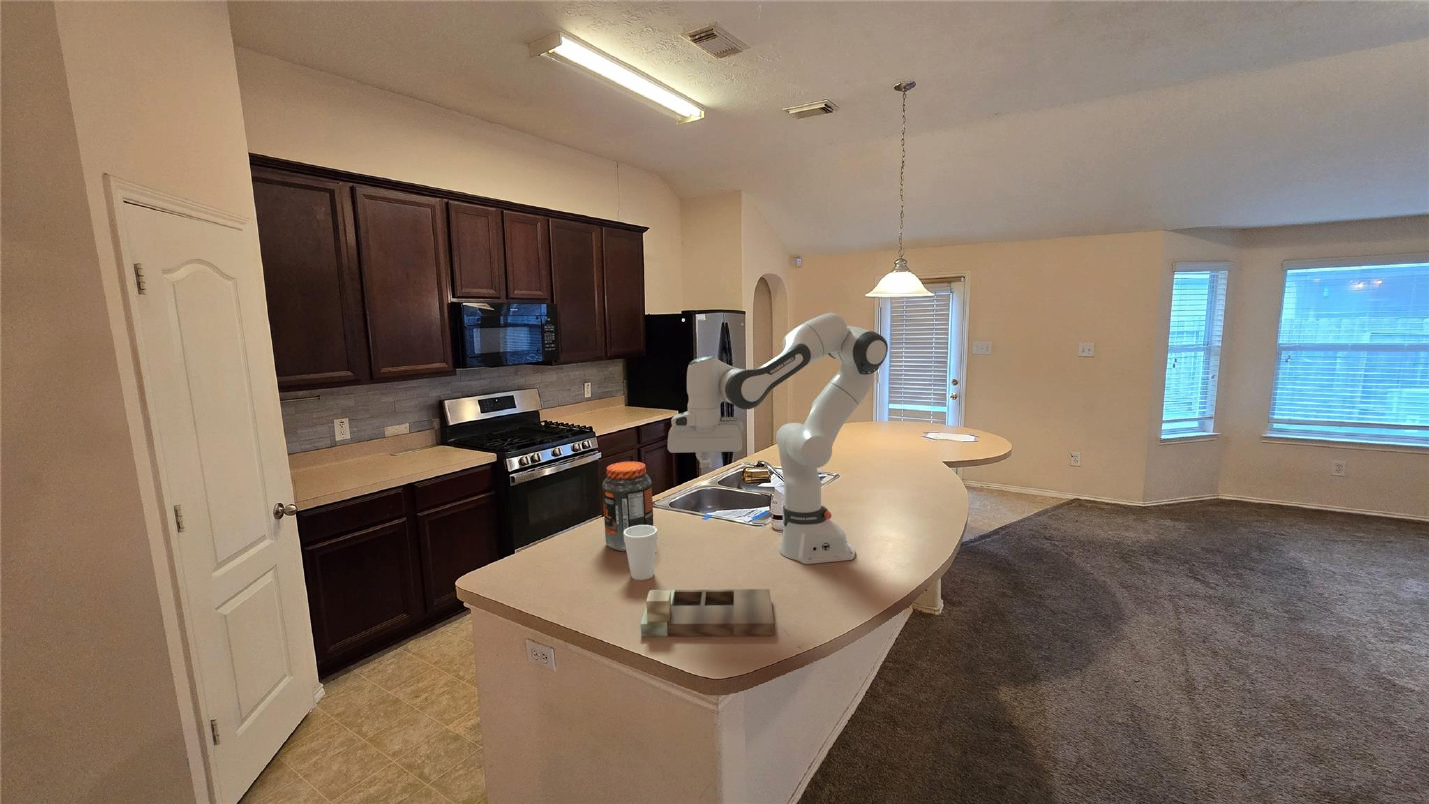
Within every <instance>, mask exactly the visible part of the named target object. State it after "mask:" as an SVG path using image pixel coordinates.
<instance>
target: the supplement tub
mask: <svg viewBox="0 0 1429 804" xmlns="http://www.w3.org/2000/svg"><path fill="white" fill-rule="evenodd" d="M605 473H606V475H607V476H606V477H605V478H604V480H603V482H602V486H601V488H602V503H603V505H602V506H603V517H604V518H603V520H604V534H605V535H604V536H605V543H606V545H607V546H608V547H609V548H611V549H612V550H616V551H621V552H627V551H626V546H625V542H624V530H626V529H627V528H629V527H632V526H637V525H650V526H654V505H653V502H654V501H653V487H652V486H653V485H652V484H653V482H652V479H651V478H650V476H649V475H648V474H647V469H646V464H645V463H643V462H640V461H620V462H616V463H612V464H610V465H608V466H607V467H606V472H605Z"/></svg>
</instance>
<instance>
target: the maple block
mask: <svg viewBox="0 0 1429 804" xmlns="http://www.w3.org/2000/svg"><path fill="white" fill-rule="evenodd" d="M662 590H663V591H651V590H649V591H648V594H647V598H646V601H645V603H646V605H645V606H647V622H669V621H670V615H671V590H672V589H662Z"/></svg>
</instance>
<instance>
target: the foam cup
mask: <svg viewBox="0 0 1429 804" xmlns="http://www.w3.org/2000/svg"><path fill="white" fill-rule="evenodd" d="M657 541H658V527H655V526H654V525H653V526H650V525H637V526H632V527H629V528H627V529H626V530H624V542H625V546H626V551H625V552H626V556H627V562H628V567H629V570H630V571H629V573H630V575H631V578H632V579H633V580H636V581H644V580H648V579H650V578H652V577H653V576H654V575H655V574H654V573H655V563H656V553H657V552H656V551H657Z"/></svg>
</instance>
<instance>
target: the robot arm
mask: <svg viewBox="0 0 1429 804" xmlns="http://www.w3.org/2000/svg"><path fill="white" fill-rule="evenodd" d="M888 345H889V344H888V342H887V340H886V338H885V337H884V336H883V335H882V334H880V333H878V332H877V331H871V330H870V329H866V328H863V327H860V326H853V325H847V323H846V321H845V319H844V318H843V317H842V316H841V315H840V314H837V313H835V312H827V313H824V314H821V315H819V316H816V317H813V318H811V319H809V320H807V321H805V322H803V323H802V324H800V325H798V326H795V328H794V329H792V330H791V331H789V332H788V333H787V334H786V335H785V336H784V337H783V339H782V343H781V349H782V352H780V354H779V355H777V356H776V357H773V358H772V359H771V360H769V361H768V362H766V363H764V364H763V365H761V366H760V367H757V368H752V369H743V368H738V367H735V366H732V365H729V364H727V363H726V362H723V361H721V360H719V359H718V358H717V357H716V356H713V355H711V356H710V355H709V356H702V357H698V358H695V359H693V360H691V361H690V362H689V363H688V367H687V370H686V371H687V372H686V393H687V396H688V402H687V411H684V412H680V413H677V414H675V415H674V416H673V417H672V418H671V420H670V421H671V423H670V424H671V427H670V429H669V431H668V435H667V450H668V451H669V453H672V454H673V453H675V454H677V453H678V454H679V453H680V454H681V453H695V456H696V459H697V460H698V461H699V467H700V469H711V468H712V461H713V460H714V457H715V455H716V453H721V452H723V453H724V452H725V453H728V452H732V453H733V452H734V453H735V452H736V453H737V452H740V451H742V450H743V438H742V433H743V431H744V422H743V420H742V419H741V418H738V416H730V417H728V416H721V404H722V403H723V402H727V403H729V404H732V405H734V406H735V407H737V409H738V408H739V409H740V410H752V409H754V408H756V407H758V406H759V405H760V404H761V403H762V402H763V401H764V400H765V399H766V397H767V396H768V395H769V394H770V392H771V391H772V390H773V389H774V388H777V386H779V385H780V384H781V383H783V382H785V381H786V380H787V379H789V378H790V377H792V376H794V375H795V374H797V373H798V372H799V371H801V370H802V369H803V368H805V367H807V366H809V365H811V364H813V363H815V362H817V361H819V360H820V359H822V358H824V357H825V356H829V357H831V358H832V359H834V360H838V361H840V362H841V363H840V368H839V370H838V371H837V373H836V374H835V375H834V376H833V377H832V379H830V380H829V382H828V383H827V384H826V385H825V387H824V388H823V389H822V391H820V393H819V394H818V395H817V397H816V398H815V399H814V400H813V401H812V403H811V409H810V412H809V414H808V415H807V418H806V419H805V421H804V423H800V422H788V423H786V424H783V425H781V426H780V428H779V429H778V430H777V432H776V436H775V442H776V446H777V448H778V453H779V461H780V466H781V470H782V472H781V473H782V477H783V488H784V489H783V493H784V495H783V497H784V498H783V499H784V500H783V501H784V504H783V506H782V524H783V529H782V530H783V531H782V532H783V533H782V538H781V542H780V546H779V552H780V554H781V555H782V556H784V557H786V558H788V559H790V560H794V561H797V562H799V563H801V564H804V565H812V564H821V563H832V562H842V561H843V562H844V561H850V560H851V561H852V560H854V559H855V556H856V551H855V548H854V546H853V544H851V543H850V542H849V541H848V540H847V536H846V533H845V532H844V530H843V528H842V527H841V526H839V524H837V523H835V521H833V520H831V518H832V516H833V515H832V513H831V512H830V511H829V509H828V508H827V507H826V506H825V505H822V481H821V478H820V475H819V472H818V468H822V467H824V466H826V465H827V464H828V463H829V461H830V460H831V457H832V455H833V446H834V444H835V441H836V439H837V436H838V434H839V432H840V430H841V429H842V427H843V426H844V424H845V423H846V421H848V419H849V418H850V416H851V415H852V414H853V412H855V410H856V409H857V408H858V406H859V405H860V404H861V403H862V402H863V399H865V397H866V396H867V394H868V392H869V391H870V390H871V388H872V385H873V384H874V380H875V374H874V373H875V372H877V371H878V370H879V368H880V367H881V366H882V365H883V363H884V362H885V360H886V357H887V355H888V352H889V351H888V349H889V346H888ZM702 453H709V459H708V460H703V458H702Z"/></svg>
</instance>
